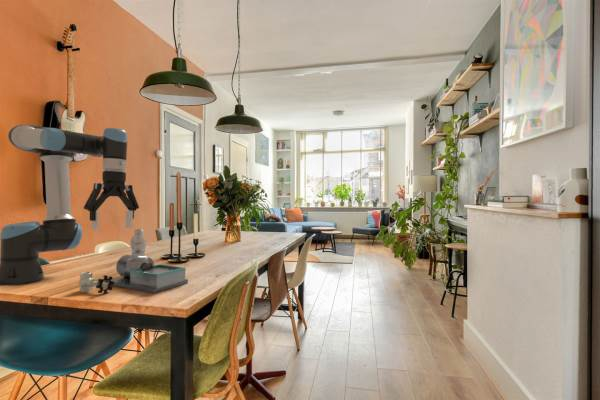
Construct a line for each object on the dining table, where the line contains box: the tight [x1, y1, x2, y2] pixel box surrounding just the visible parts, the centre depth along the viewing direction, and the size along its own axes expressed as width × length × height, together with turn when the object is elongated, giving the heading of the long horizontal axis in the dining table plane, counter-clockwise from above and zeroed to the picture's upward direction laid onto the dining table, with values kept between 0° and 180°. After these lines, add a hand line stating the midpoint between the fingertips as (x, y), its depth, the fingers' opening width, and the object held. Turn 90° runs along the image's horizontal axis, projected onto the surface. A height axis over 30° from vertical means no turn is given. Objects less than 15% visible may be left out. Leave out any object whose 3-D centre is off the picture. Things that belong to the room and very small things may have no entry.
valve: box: [78, 271, 114, 295], centre depth 116 cm, size 7×7×12 cm
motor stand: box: [107, 254, 189, 294], centre depth 128 cm, size 26×17×10 cm, turn 66°
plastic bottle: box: [130, 228, 147, 257], centre depth 146 cm, size 6×7×20 cm
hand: (112, 228), depth 118 cm, fingers open, 13 cm apart
